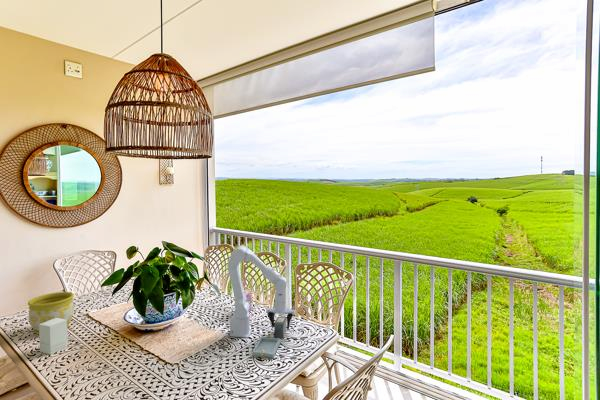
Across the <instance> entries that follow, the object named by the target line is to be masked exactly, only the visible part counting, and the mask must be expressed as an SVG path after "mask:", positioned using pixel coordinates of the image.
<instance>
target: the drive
mask: <svg viewBox="0 0 600 400" xmlns="http://www.w3.org/2000/svg"><path fill="white" fill-rule="evenodd" d="M273 329H274V330H273V338H279V339H283V338H284V337H285V334H286V332H287V316H277V318H276V320H274V328H273Z"/></svg>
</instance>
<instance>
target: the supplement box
mask: <svg viewBox="0 0 600 400" xmlns="http://www.w3.org/2000/svg"><path fill="white" fill-rule="evenodd" d="M38 335H39V337H38V338H39V352H40V353H44V354H47V355H53V354H54V353H57V352H60V351H62V350H63V349H66V348H67V347H68V346H69V345H68V340H69V339H68V326H67V320H65V319H60V318H54V319H52V320H49V321H47V322H44V323H41V324H39V334H38Z"/></svg>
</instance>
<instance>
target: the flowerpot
mask: <svg viewBox="0 0 600 400" xmlns="http://www.w3.org/2000/svg"><path fill="white" fill-rule="evenodd" d="M74 295H75V294H74V293H73V292H72V291H71V292H70V291H57V292H51V293H45V294H42V295H38V296H35V297H33V298H31V299H30V300H28V301H27V305H28V306H29V307H28V309H29V310H28V323H29V325H30V326H31V328H32V329H34V330H33V332H34V333H35V334H36V335H39V324H41V323H44V322H47V321H49V320H52V319H54V318H60V319H65V320H67V327H68V326H69V325H70V324H71V322H70V321H71V319H72V318H73V315H74V312H75V306H74V305H75V304H74Z"/></svg>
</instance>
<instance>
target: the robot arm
mask: <svg viewBox="0 0 600 400" xmlns="http://www.w3.org/2000/svg"><path fill="white" fill-rule="evenodd" d="M242 261H243V262H247V263H249V262H250V263H252V265H254V266H255V267H256V268H257V269H259V270H260V272H261V271H262V275H263V277H264V278H266V279H267V280H268V281H269V282H270V283H271V284H272V285H273V287H274V290H275V291H274V307H267V308H266V310H265V312H266V314H267V318H268V319H269V321H270V325H271V328H272V329H274V323H275V314H276V315H286V317H287V323H286V330H289V329H290V324H291V320H292V318H293V316H295V315H296V309H291V308H288V307H287V279H286V277H285V276H284V275H282V274H280V273H279V272H278V271H276V268H275V267H272V266H267V265H266V264H265V263H264V262H263V261H262V260H261V259H260V258H259V256H257V254H255V253H254V252H253V251H252V250H251V249H250V248H248V247H247V246H246V245H245V244H244V245H243V244H241V245H238V246H237V248H236V249H234V250H233V251H232V253H231V254H230V257H229V259H228V262H227V269H228V275H229V278H230V279H229V280H230V283H231V288H232V292H233V297H234V312H233V313H234V314H233V315H231V317H230V319H229V320H230V321H229V335H228V336H229V337H237V338H248V337H249V336H250V335H251V333H252V331H253V328H251V326H250V325H251V322H250V321H251V320H250V317H251V315H250V313H249V312H250V311H249V312H248V310H249V309H250V303H249V302H248V300H247V297H246V296H245V294H244V290H245V289H244V286H243V280H242V276H241V273H240V267H239V265H240V263H241V262H242Z"/></svg>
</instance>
